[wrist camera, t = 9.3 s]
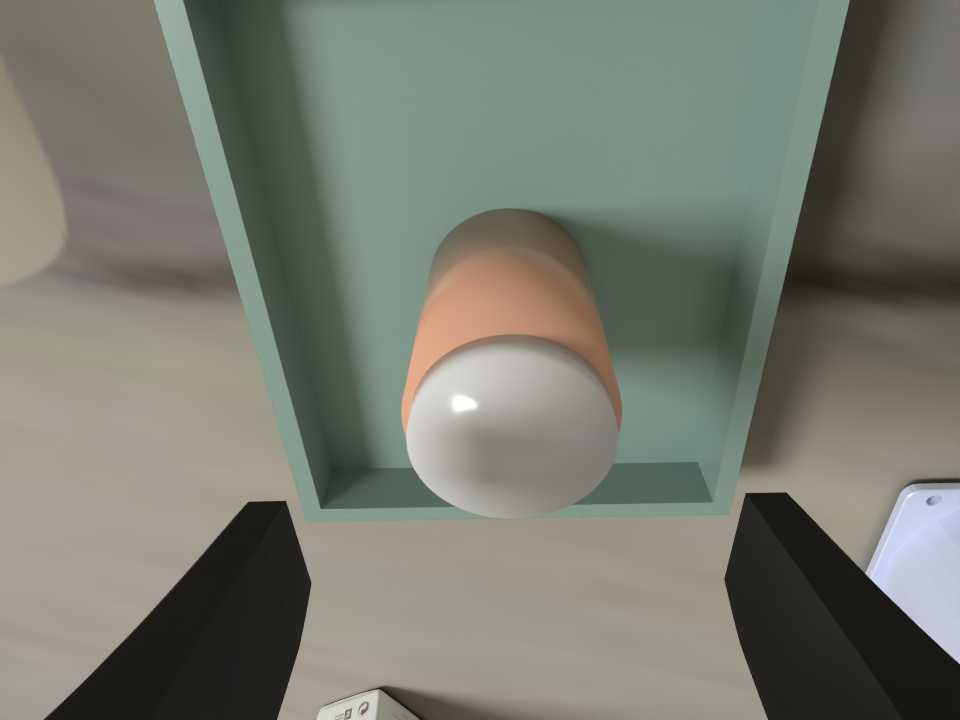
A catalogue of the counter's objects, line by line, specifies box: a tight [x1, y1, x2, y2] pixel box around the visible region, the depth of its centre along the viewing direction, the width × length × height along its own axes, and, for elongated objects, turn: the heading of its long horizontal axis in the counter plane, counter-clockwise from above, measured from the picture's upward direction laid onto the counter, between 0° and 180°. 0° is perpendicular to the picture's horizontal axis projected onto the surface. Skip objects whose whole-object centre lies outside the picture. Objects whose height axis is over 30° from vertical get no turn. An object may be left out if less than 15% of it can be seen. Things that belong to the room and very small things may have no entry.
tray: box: [154, 0, 850, 522], centre depth 18 cm, size 14×16×2 cm
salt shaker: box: [401, 208, 622, 519], centre depth 16 cm, size 5×5×7 cm
